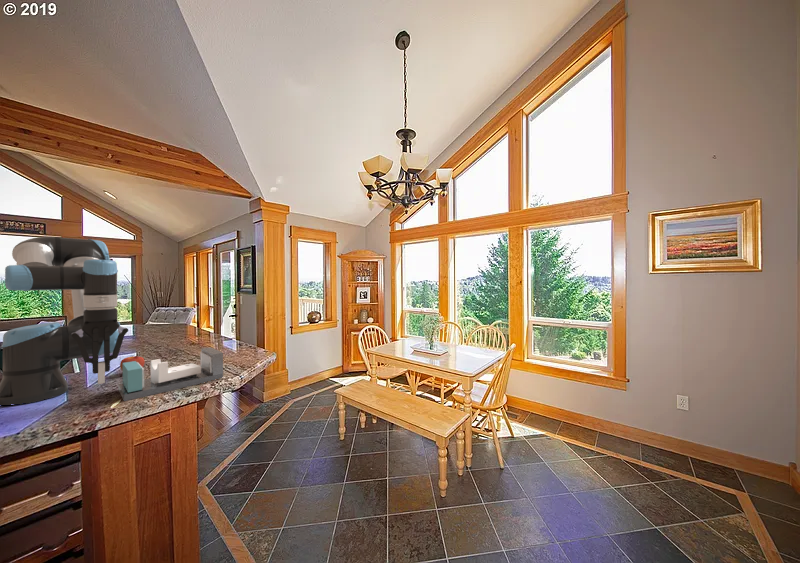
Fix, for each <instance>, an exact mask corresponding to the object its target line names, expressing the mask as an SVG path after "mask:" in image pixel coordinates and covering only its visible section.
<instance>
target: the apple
mask: <svg viewBox="0 0 800 563" xmlns="http://www.w3.org/2000/svg"><path fill="white" fill-rule="evenodd" d="M132 361H136V362H138V363H139V364H140V365H141V366H142V367H143V368H144V366H145V359H144V357H142V356H139V355H138V353H136V355H132V356H127V357H125V358H123V359H122V360H120V363H119V367H120V370H121V371H122V372H123V369H122V363H126V362H132Z"/></svg>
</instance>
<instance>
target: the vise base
mask: <svg viewBox="0 0 800 563" xmlns="http://www.w3.org/2000/svg"><path fill="white" fill-rule="evenodd" d="M222 377H223V378H224V373H223V374H218V375H214V376H213V375H211V374H210V373H208V372H207V371H205V370H203V369H202V368H201V373H198V374H194V375H190V376H186V377H182V378H178V379H173V380H169V381H165V382H161V383H156V384H154V383H152V382H151V377H149V378H144V387H143V388H142V390H138V391H133V392H129V393H128V392H127V390H126V388H125V386H124V385H123V383H118V386H117V387H118V392H119V395H120V396H121V398H122V400H123V402H127V401H131V400H135V399H140V398H145V397H148V396H154V395H157V394H162V393H166V392H170V391H171V392H172V391H174V390H179V389H183V387H184V388H188V387H187V386H189V387H193V386H196V385H201V384H200V383H202V384H205V383H204V382H206V383H208V382H207V381H210V382H212V381H211V380H215V379H219V378H222ZM219 380H220V379H219ZM215 381H216V380H215ZM192 385H193V386H192Z"/></svg>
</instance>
